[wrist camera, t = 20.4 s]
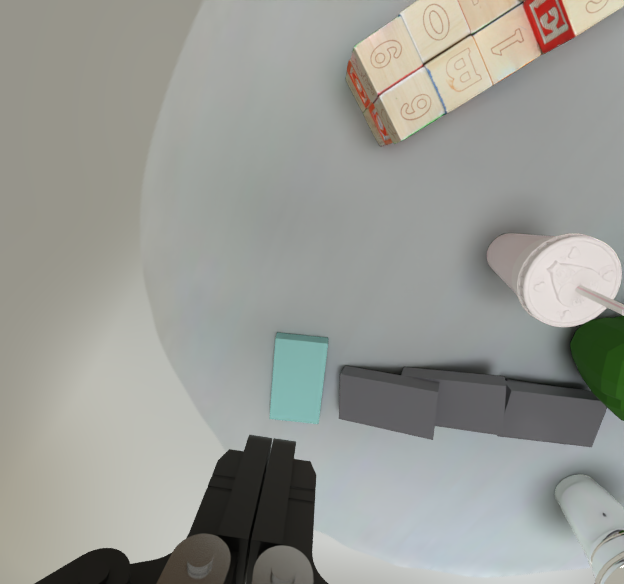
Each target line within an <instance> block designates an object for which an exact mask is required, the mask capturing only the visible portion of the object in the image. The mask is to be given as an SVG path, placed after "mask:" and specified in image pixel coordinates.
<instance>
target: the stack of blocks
mask: <svg viewBox="0 0 624 584" xmlns="http://www.w3.org/2000/svg"><path fill="white" fill-rule="evenodd" d="M623 6H624V0H417V1H416V2H414V3H413V4H411V5H410V6H408V7H407V8H406V9H404V10H403V11H401V12H400V13H399V15H398V17H397V18H395V19H393V20H392V21H390V22H389V23H387V24H386V25H384V26H383V27H381V28H380V29H379V30H377V31H375V32H374V33H373V34H371V35H370V36H368V37H367V38H365V39H364V40H362V41H361V42H359V43H358V44H356V45H355V46H354V49H353V52H352V56H351V59H349V62H348V66H347V73H346V78H345V79H346V81H347V83H348V85H349V87H350V89H351V91H352V93H353V95H354V97H355V99H356V101H357V103H358V105H359V107H360V109H361V111H362V112H363V115H364V117H365V119H366V121H367V123H368V125H369V127H370V129H371V131H372V133H373V135H374V137H375V139H376V140H377V142H378V144H379V145H380V146H384V145H388V144H391V143H394V144H396V143H398V142H401V141H403V140H405V139H406V138H408V137H409V136H411V135H413V134H414V133H416V132H417V131H419V130H421V129H422V128H424V127H425V126H427V125H429V124H430V123H432V122H434V121H435V120H437V119H438V118H440V117H441V116H443V115H445V114H447V113H449V112H451V111H452V110H454V109H456V108H457V107H459V106H461V105H462V104H464V103H465V102H467V101H468V100H470V99H472V98H473V97H475V96H477V95H478V94H480V93H482V92H483V91H485V90H486V89H488V88H489V87H491V86H493V85H494V84H496V83H498V82H500V81H501V80H503V79H504V78H506V77H508V76H509V75H511V74H512V73H514V72H516V71H517V70H519V69H520V68H522V67H523V66H525V65H526V64H528V63H530V62H531V61H533V60H534V59H536V58H537V57H539V56H540V55H542V54H545V53H547V52H549V51H551V50H552V49H554V48H556V47H558V46H560V45H561V44H563V43H565V42H567V41H569V40H571V39H572V38H574V37H576V36H578V35H579V34H581V33H582V32H584V31H586V30H587V29H589V28H590V27H592V26H593V25H595V24H597V23H598V22H600V21H601V20H603V19H605V18H606V17H608V16H609V15H611V14H612V13H614V12H616V11H617V10H619V9H620V8H622V7H623Z"/></svg>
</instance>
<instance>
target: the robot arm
mask: <svg viewBox="0 0 624 584" xmlns="http://www.w3.org/2000/svg"><path fill="white" fill-rule="evenodd" d="M271 444H272V438H268V437H261V436H254V435H249V437H248V440H247V443H246V446H245V450H244V452H243V451H237V450H230V449H229V450H228V451H227V452H226V453H225V454H224V455H223V456H222V457H221V458H220V459H219V460H218V462H217V464H216V467H215V469H214V472H213V475H212V477H211V479H210V482H209V485H208V488H207V490H206V492H205V495H204V497H203V500H202V502H201V505H200V507H199V510H198V512H197V515H196V517H195V520H194V522H193V525H192V527H191V530H190V533H189V534H188V536H187V538H186V539H185V540H183V541H182V542H181V543H180V544H179V545H178V546H177V547H176V548H175V549H174V551H173V552H172V553H170V554H168V555H167V556H165V557H162V558H159V559H156V560H151V561H145V562H139V563H134V564H130V563H129V560H128V558H127V557H126V555H125V554H124V553H122V552H121V551H119V550H117V549H112V548H102V549H97V550H93V551H91V552H88V553H86V554H84V555H82V556H81V557H79V558H77V559H75V560H74V561H72V562H70V563H69V564H67V565H65V566H63V567H62V568H60V569H58V570H57V571H55V572H53V573H52V574H50V575H48V576H47V577H45V578H43V579H42V580H40V581H38V582H37V583H35V584H328V583H327V582H326V581H325V580H324V579H323V578H322V577H321V576H320V574H319V573H318V571H317V569H316V568H315V565H314V562H313V557H312V543H313V525H314V506H315V505H314V503H315V487H316V474H315V471H314V469H313V467H312V464H311V462H310V461H304V460H297V459H294V453H295V446H296V442H295V441H288V440H282V439H275V438H274V439H273V444H272V448H271ZM270 452H271V453H270Z"/></svg>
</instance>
